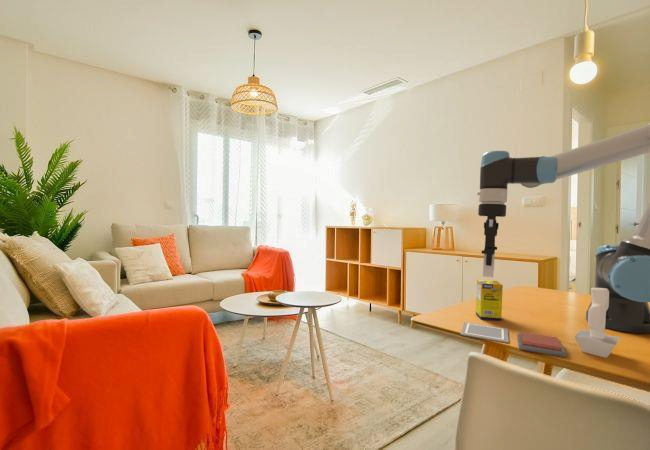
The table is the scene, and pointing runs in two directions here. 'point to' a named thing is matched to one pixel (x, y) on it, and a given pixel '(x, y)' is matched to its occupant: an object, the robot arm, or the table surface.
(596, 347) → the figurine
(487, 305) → the supplement box
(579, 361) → the table surface
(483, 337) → the marked card
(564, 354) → the ink pad
